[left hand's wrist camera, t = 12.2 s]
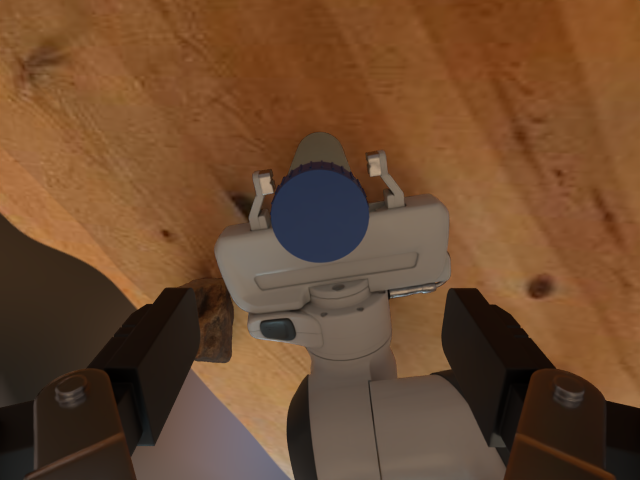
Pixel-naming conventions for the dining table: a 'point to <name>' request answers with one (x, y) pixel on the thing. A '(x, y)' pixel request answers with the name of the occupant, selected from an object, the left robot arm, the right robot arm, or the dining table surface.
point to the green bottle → (319, 151)
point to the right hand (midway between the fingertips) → (317, 161)
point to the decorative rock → (213, 319)
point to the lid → (319, 212)
